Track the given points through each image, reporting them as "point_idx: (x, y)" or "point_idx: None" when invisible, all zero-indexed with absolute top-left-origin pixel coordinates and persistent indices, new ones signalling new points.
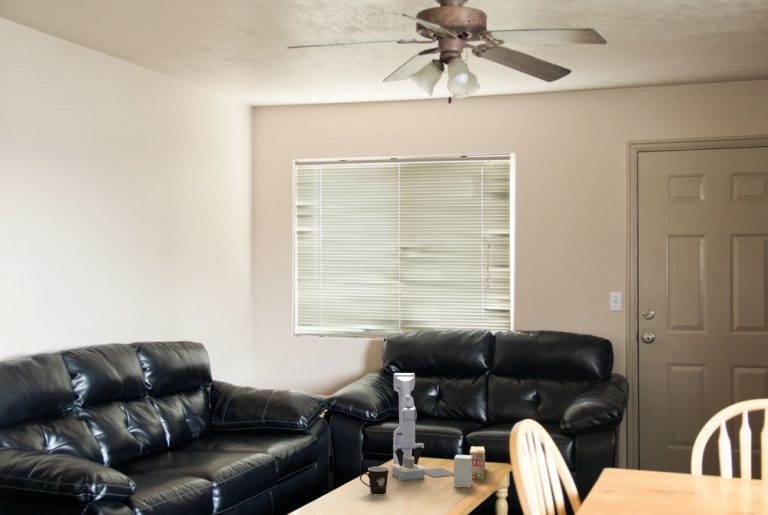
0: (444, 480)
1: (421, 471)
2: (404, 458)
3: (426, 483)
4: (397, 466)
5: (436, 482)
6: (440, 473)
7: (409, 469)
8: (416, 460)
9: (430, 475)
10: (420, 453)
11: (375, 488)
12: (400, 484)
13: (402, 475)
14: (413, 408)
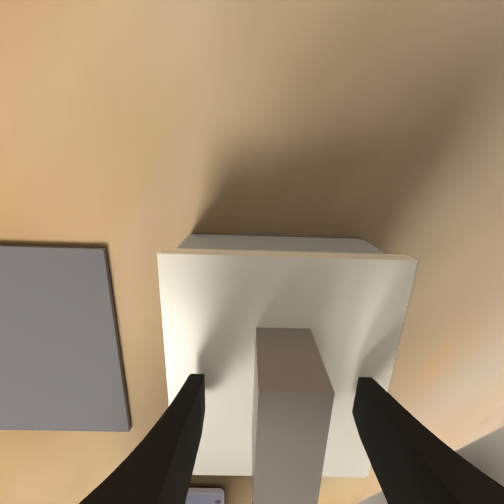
0: (46, 126)
1: None
2: (318, 488)
3: (238, 96)
4: None
5: (140, 89)
6: (14, 317)
7: (337, 279)
8: (192, 413)
9: (107, 295)
10: (100, 498)
11: None
12: (444, 162)
13: None
14: None
